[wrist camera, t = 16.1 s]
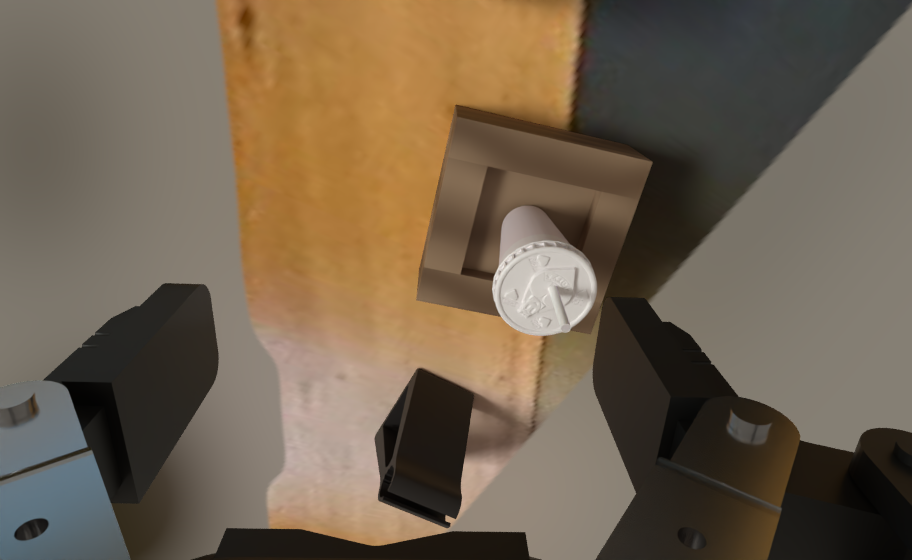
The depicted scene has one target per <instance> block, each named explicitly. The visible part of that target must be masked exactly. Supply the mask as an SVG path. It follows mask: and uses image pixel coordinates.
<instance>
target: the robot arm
mask: <svg viewBox="0 0 912 560" xmlns="http://www.w3.org/2000/svg"><path fill="white" fill-rule="evenodd" d="M217 370H218V347H217V341H216V333H215V325H214V318H213V311H212V304H211V297H210V293H209V291H208V288H207V287H206V286H205V285H204V284H172V283H165V284H163V285H161V286H160V287H159V288H158V289H157V290H156V291H155V292H154V293H153V294H152V295H151V296H150V297H149V298H148V299H147V300H146V301H145V302H144V303H143V304H141V306H135V307H133V308H131V309H129V310H127V311H125V312H123V313H121V314H119V315H117V316H115V317H113V318H111V319H110V320H109V321H107V322H106V323H105V324H104V325H103V326H102V327H101V328H100V329H99V330H98V331H96V332H95V336H93V335H92V336H91V337H90V338H89V339H88V340H87V341H85V342H84V343H83V344H82V348H78V349H77V350H76V351H74V352H73V353H72V354H71V355H70V356H69V357H68V358H67V359H66V360H65V361H64V362H62V363H61V364H60V365H59V366H58V367H57V368H56V369H55V370H54V371H52V372H51V374H49V375H48V376H47V377H46V378H45V379H44V380H43V381H26V382H20V383H16V384H11V385H7V386H4V387H0V560H131V559H130V557H129V554H128V551H127V548H126V545H125V542H124V540H123V537H122V534H121V531H120V528H119V525H118V522H117V520H116V517H115V514H114V511H113V508H112V505H111V503H136V504H137V503H140V501H141V499H142V498H143V496H144V495H145V493H146V491H147V490H148V488H149V487H150V485H151V483H152V482H153V480H154V479H155V477H156V475H157V474H158V472H159V470H160V469H161V467H162V466H163V464H164V462H165V461H166V459H167V458H168V456H169V454H170V453H171V451H172V450H173V448H174V446H175V445H176V443H177V441H178V440H179V438H180V437H181V435H182V434H183V432H184V430H185V429H186V427H187V426H188V424H189V422H190V421H191V419H192V417H193V416H194V414H195V413H196V411H197V409H198V408H199V406H200V405H201V403H202V401H203V400H204V398H205V397H206V395H207V393H208V392H209V390H210V389H211V387H212V385H213V383H214V381H215V378H216V375H217ZM593 385H594V390H595V394H596V396H597V399H598V401H599V404H600V406H601V408H602V411H603V413H604V416H605V418H606V420H607V423H608V426H609V428H610V430H611V433H612V435H613V438H614V440H615V442H616V445H617V447H618V450H619V452H620V455H621V457H622V460H623V462H624V464H625V467H626V469H627V471H628V474H629V477H630V479H631V481H632V484H633V486H634V489H635V491H636V495H635V497H634V498H633V500H632V502H631V503H630V505H629V506H628V508H627V510H626V512H625V513H624V515H623V516H622V518H621V519H620V521H619V523H618V524H617V526H616V528H615V529H614V531H613V532H612V534H611V535H610V537H609V539H608V540H607V542H606V544H605V545H604V547H603V548H602V550H601V552H600V553H599V555H598V556H597V558H596V560H912V433H910V432H906V431H903V430H897V429H890V428H875V429H870V430H867V431H866V432H864V433H863V434H862V435H861V437H860V439H859V442H858V445H857V447H856V450H855V452H854V453H853V452H849V451H844V450H840V449H835V448H831V447H826V446H821V445H816V444H812V443H808V442H804V441H801V440H800V434H799V431H798V430H797V428H796V426H795V425H794V424H793V422H791V421H790V420H789V419H788V418H787V417H786V416H784V415H783V414H782V413H780V412H779V411H777V410H775V409H774V408H771V407H769V406H767V405H765V404H762V403H760V402H757V401H754V400H750V399H746V398H741V397H738V395H737V394H736V393H735V392H734V390H733V389H732V388H731V386H730V385H729V384H728V382H727V381H726V380H725V379H724V378H723V376H722V375H721V374H720V372H719V371H718V370H717V369H716V367H715V366H714V365H711V361H710V360H709V358H708V357H707V356H706V354H705V353H704V352H701V348H700V347H699V346H698V344H697V343H696V342H695V341H694V339H693V338H692V337H691V335H689V334H688V333H686V332H685V331H683V330H682V329H680V328H679V327H677V326H675V325H674V324H672V323H671V322H662V321H661V320H660V318H659V317H658V315H657V314H656V313H655V311H654V310H653V309H652V307H651V306H650V304H649V303H648V302H647V300H646V299H644V298H623V297H607V298H606V299H605V301H604V303H603V307H602V312H601V318H600V324H599V331H598V337H597V343H596V349H595V356H594V362H593ZM192 560H541V559H537V558H533V557H529V552H528V547H527V540H526V534H525V532H461V531H460V532H459V531H455V532H454V531H452V532H447V533H442V534H437V535H432V536H427V537H422V538H417V539H412V540H407V541H402V542H397V543H392V544H387V545H382V546H370V545H365V544H361V543H357V542H352V541H348V540H344V539H340V538H336V537H331V536H327V535H323V534H319V533H314V532H310V531H306V530H302V529H237V528H227V529H226V531H225V533H224V536H223V538H222V540H221V543H220V545H219V547H218V550H217V552H216V553H215V554H210V555H205V556H202V557H199V558H195V559H192Z"/></svg>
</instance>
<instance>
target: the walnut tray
mask: <svg viewBox="0 0 912 560" xmlns="http://www.w3.org/2000/svg"><path fill="white" fill-rule="evenodd" d="M652 163H653V162H652V161H651V160H649V159H648V158H646V157H645V156H643V155H642V154H640V153H639V152H638V151H636V150H635V149H633V148H632V147H630V146H629V145H626V144H622V143H617V142H613V141H609V140H604V139H600V138H596V137H592V136H587V135H583V134H579V133H574V132H570V131H566V130H561V129H557V128H553V127H549V126H544V125H540V124H536V123H531V122H527V121H523V120H519V119H514V118H510V117H506V116H501V115H497V114H493V113H489V112H484V111H480V110H476V109H471V108H467V107H463V106H459V105H455V109H454V114H453V119H452V123H451V128H450V132H449V137H448V141H447V146H446V150H445V155H444V159H443V164H442V168H441V173H440V178H439V182H438V187H437V191H436V196H435V200H434V205H433V209H432V214H431V218H430V223H429V227H428V232H427V236H426V241H425V246H424V250H423V255H422V259H421V264H420V268H419V277H418V288H417V299H416V300H418V301H423V302H428V303H433V304H438V305H443V306H448V307H453V308H459V309H464V310H469V311H474V312H479V313H484V314H489V315H494V316H500V314H499V312H498V310H497V307H496V304H495V301H494V298H493V291H492V286H493V279H494V276H495V273H496V271H497V269H498V267H499V256H500V242H501V228H502V223H503V220H504V219H505V217H506V216H507V214H508V213H509V212H511V211H512V210H513V209H515V208H518V207H521V206H535V207H537V208H540V209H541V210H543V211H544V212H545V213H546V214H547V216H548V217H549V218H550V220H551V221H552V222H553V223H554V225H555V226H556V227H557V228H558V230H559V231H560V232H561V233H562V235H563V236H564V237H565V239H566V240H567V241H568V242H569V244H570V245H572V246H574V247H575V248H576V249H578V250H579V251H581V252H582V253H583V254H584V255H585V256H586V258H587V259H588V260H589V261H590V263H591V266H592V268H593V271H594V274H595V277H596V281H597V294H596V299H595V302H594V304H593V306H592V308H591V310H590V311H589V313H588V314H587V315H586V316H585V317H584V318H583V319H582V320H581V321H580V322H579V323H578V324H576V325H575V326H573V327H572V328H571V329H570V330H571V331H576V332H582V333H587V334H591V332H592V329H593V326H594V323H595V321H596V318H597V315H598V312H599V309H600V307H601V304H602V301H603V298H604V296H605V293H606V290H607V287H608V285H609V282H610V279H611V276H612V274H613V271H614V268H615V265H616V263H617V260H618V257H619V254H620V252H621V249H622V246H623V243H624V240H625V238H626V235H627V232H628V229H629V227H630V224H631V221H632V218H633V216H634V213H635V210H636V207H637V205H638V202H639V199H640V196H641V194H642V191H643V188H644V185H645V183H646V180H647V177H648V174H649V172H650V169H651V166H652ZM500 317H501V316H500Z"/></svg>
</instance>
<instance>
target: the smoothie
mask: <svg viewBox="0 0 912 560" xmlns="http://www.w3.org/2000/svg"><path fill="white" fill-rule="evenodd" d="M492 291H493V298H494V301H495V304H496V307H497V310H498V312H499V314H500V316H501V317H502V318H503V320H504V321H505V322H506V323H507V324H509V325H510V326H511V327H513V328H514V329H516V330H518V331H520V332H523V333H526V334H530V335H537V336H545V335H553V334H557V333H561V332H569V331H570V329H571V328H572V327H573V326H575V325H576V324H578V323H579V322H580V321H581V320H582V319H583V318H584V317H585V316H586V315H587V314H588V313H589V311H590V310H591V308H592V306H593V304H594V302H595V299H596V294H597V281H596V277H595V274H594V271H593V268H592V266H591V263H590V261H589V260H588V259H587V258H586V256H585V255H584V254H583V253H582V252H581V251H579V250H578V249H576V248H575V247H574V246H572V245H570V244H569V242H568V241H567V240H566V239H565V237H564V236H563V235H562V233H561V232H560V231H559V230H558V228H557V227H556V226H555V225H554V223H553V222H552V221H551V220H550V218H549V217H548V216H547V214H546V213H545V212H544V211H543V210H541V209H540V208H537V207H535V206H521V207H518V208H515V209H513V210H512V211H511V212H509V213H508V214H507V216H506V217H505V219H504V220H503V223H502V228H501V242H500V256H499V267H498V269H497V271H496V273H495V276H494V279H493V286H492Z"/></svg>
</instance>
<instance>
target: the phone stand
mask: <svg viewBox="0 0 912 560" xmlns="http://www.w3.org/2000/svg"><path fill="white" fill-rule="evenodd" d="M473 399H474V394H472V393H470V392H467V391H465V390H463V389H461V388H459V387H457V386H455V385H452V384H450V383H448V382H446V381H444V380H442V379H439V378H437V377H435V376H433V375H431V374H429V373H427V372H424V371H422V370H420V369H417V370H416V371H415V373H414V375H413V376H412V378H411V379H410V381H409V383H408V384H407V386H406V387H405V389H404V391H403V392H402V394H401V395H400V397H399V399H398V400H397V402H396V404H395V405H394V407H393V408H392V410H391V411H390V413H389V414H388V416H387V418H386V419H385V421H384V422H383V424H382V426H381V427H380V429H379V430H378V432H377V434H376V436H375V445H376V452H377V459H378V465H379V472H380V489H379V494H378V500H379V501H380V502H383V503H385V504H388V505H390V506H393V507H395V508H398V509H400V510H403V511H405V512H408V513H410V514H413V515H415V516H418V517H420V518H423V519H425V520H428V521H430V522H433V523H435V524H438V525H440V526H443V527H445V528H449V527H450V524H451V523H448V522H446V521H445V515H447V516H450V517H452V518H455V519H456V518H457V515H458V513H459V510H460V507H461V501H462V494H461V477H462V471H463V464H464V458H465V451H466V444H467V438H468V431H469V425H470V418H471V412H472V405H473Z"/></svg>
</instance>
